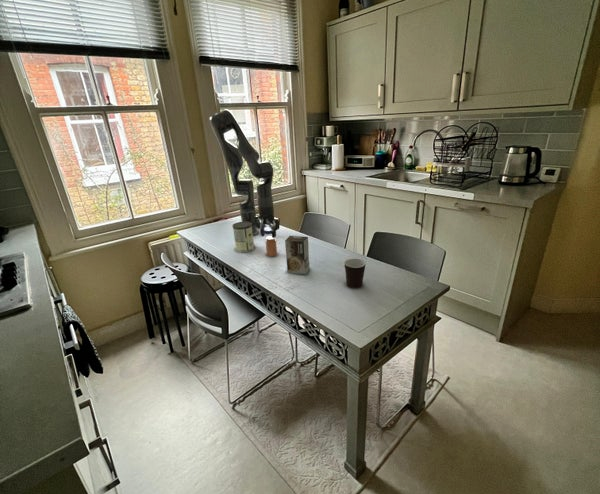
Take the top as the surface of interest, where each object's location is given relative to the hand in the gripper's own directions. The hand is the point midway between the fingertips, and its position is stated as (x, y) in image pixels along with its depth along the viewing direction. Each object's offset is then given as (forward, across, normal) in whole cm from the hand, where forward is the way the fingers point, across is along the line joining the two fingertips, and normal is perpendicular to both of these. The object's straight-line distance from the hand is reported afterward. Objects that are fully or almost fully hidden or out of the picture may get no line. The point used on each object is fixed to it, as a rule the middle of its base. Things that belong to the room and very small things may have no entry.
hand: (268, 236), depth 160 cm
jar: (+10, 0, +1) cm, 10 cm away
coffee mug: (+10, +50, -12) cm, 52 cm away
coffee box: (+10, +22, -10) cm, 26 cm away
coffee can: (+11, -18, +3) cm, 21 cm away
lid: (-4, 0, +1) cm, 4 cm away
